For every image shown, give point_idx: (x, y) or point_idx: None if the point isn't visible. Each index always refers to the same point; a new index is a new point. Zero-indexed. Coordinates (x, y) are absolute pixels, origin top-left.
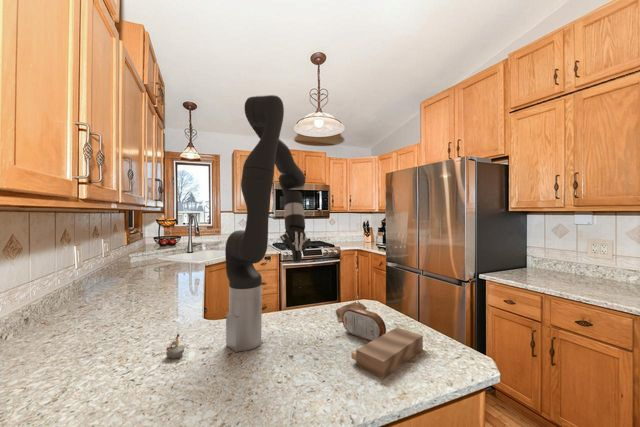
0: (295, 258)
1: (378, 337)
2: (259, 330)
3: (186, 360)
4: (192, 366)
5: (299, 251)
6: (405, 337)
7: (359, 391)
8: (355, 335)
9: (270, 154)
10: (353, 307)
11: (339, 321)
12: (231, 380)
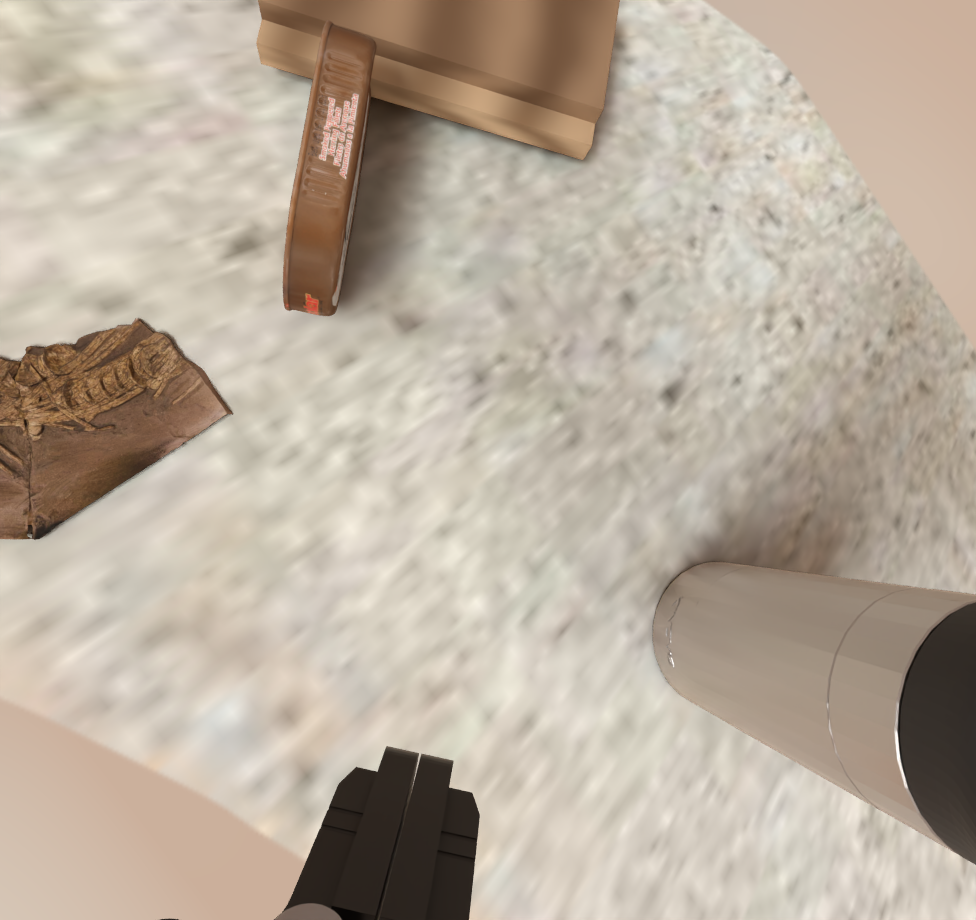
0: (477, 810)
1: (441, 58)
2: (736, 572)
3: None
4: None
5: (352, 910)
6: None
7: (691, 94)
8: (347, 248)
9: None
10: (304, 200)
11: (223, 407)
12: (878, 455)
